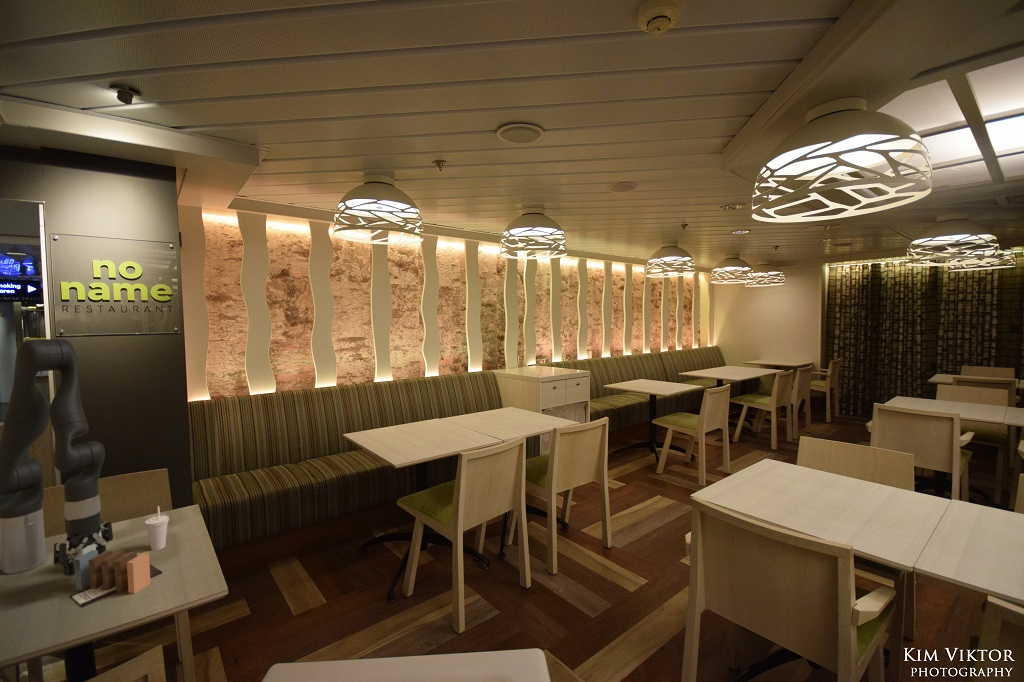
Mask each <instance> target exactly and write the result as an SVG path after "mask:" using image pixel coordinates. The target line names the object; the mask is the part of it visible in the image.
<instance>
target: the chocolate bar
mask: <svg viewBox="0 0 1024 682" xmlns="http://www.w3.org/2000/svg"><path fill="white" fill-rule="evenodd" d="M162 574H163V571H162V570H160V569H158V568H156V567H155V566H153V565H152V564H150V579H153V578H154V577H157V576H160V575H162ZM117 593H119V592H118V591H117V590H116V586H115V587H113V588H111V589H110V590H103V585H102V586H101V587H99V588H97V589H90V586H88V587H87V588H85V589H83V590H78V591H76V592H75V593H71V594H70V598H72V599H73V600H74V601H75V602H76V603H77V604H79V606H81V607H82V608H85V607H88V606H89V605H92V604H94V603H96V602H98V601H101V600H103V599H105V598H107V597H111V596H113V595H115V594H117Z"/></svg>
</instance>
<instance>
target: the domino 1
mask: <svg viewBox="0 0 1024 682" xmlns="http://www.w3.org/2000/svg"><path fill="white" fill-rule="evenodd" d="M97 555H98V550H92V551H90V552H88V553H86V554H84V555H82V556H80V557H78V558H76V559H74V567H75V570H74V571H75V574H74V577H75V578H74V579H75V590H76V591H81V590H84V589H86V588H89V587H90V574H89V560H90V559H92V558H93V557H95V556H97Z"/></svg>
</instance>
